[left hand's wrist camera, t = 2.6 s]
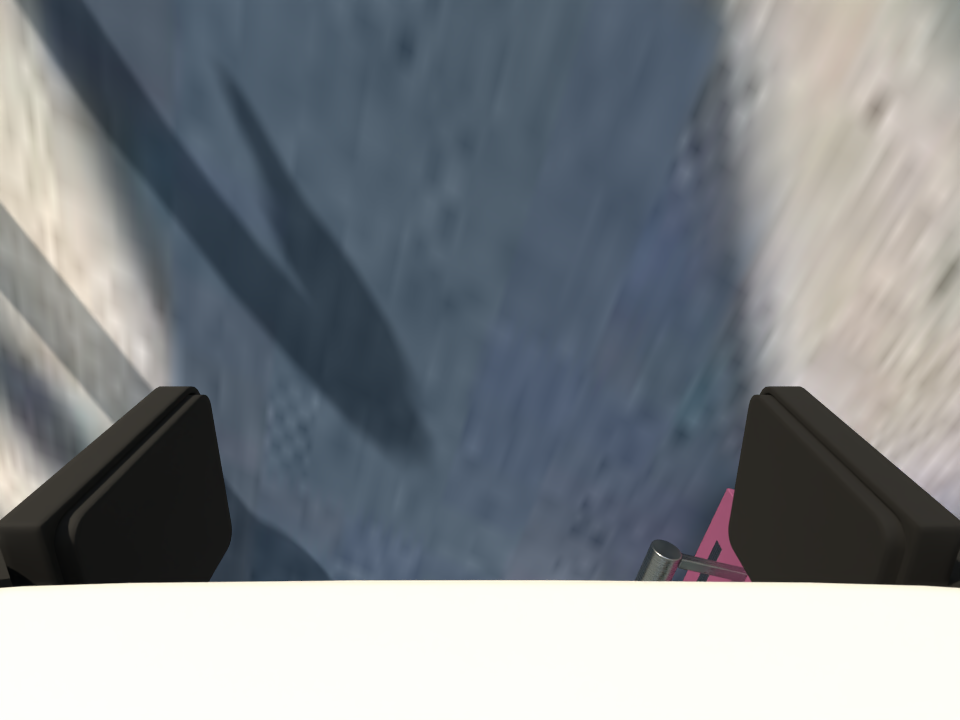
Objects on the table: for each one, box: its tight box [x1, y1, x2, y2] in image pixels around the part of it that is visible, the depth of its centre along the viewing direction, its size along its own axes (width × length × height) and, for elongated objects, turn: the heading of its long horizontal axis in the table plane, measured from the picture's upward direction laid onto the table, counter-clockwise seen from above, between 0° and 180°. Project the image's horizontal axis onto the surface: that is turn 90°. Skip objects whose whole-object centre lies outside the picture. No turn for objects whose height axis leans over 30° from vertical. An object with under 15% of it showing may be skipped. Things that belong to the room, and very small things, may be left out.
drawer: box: [635, 488, 751, 582], centre depth 36 cm, size 23×9×8 cm, turn 75°
